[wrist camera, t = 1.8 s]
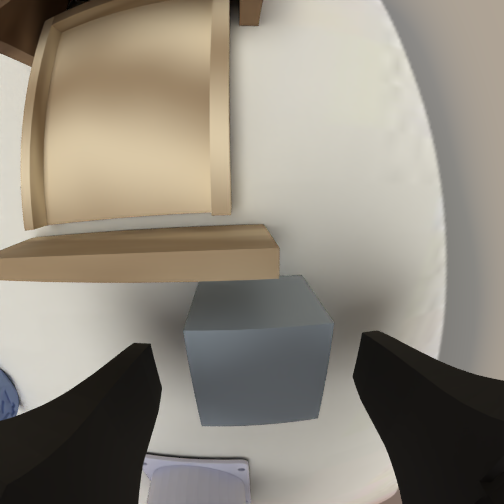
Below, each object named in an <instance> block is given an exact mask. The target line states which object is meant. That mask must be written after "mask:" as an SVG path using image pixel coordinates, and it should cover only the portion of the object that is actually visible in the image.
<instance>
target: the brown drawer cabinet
mask: <svg viewBox="0 0 504 504" xmlns="http://www.w3.org/2000/svg"><path fill="white" fill-rule="evenodd" d="M69 1H70V0H0V53H1V54H3V55H6V56H8V57H10V58H13V59H15V60H17V61H19V62H22V63H24V64H26V65H28V66H31V67H32V64H33V60H34V56H35V52H36V48H37V45H38V41H39V38H40V35H41V32H42V29H43V26H44V23H45V21H46V20H48V19H50V18H52V17H54V16H56V15H58V14H60V13H62V12H64V11H66V9H67V6H68V3H69ZM262 2H263V0H239V25H249V26H258V24H259V18H260V13H261V7H262Z"/></svg>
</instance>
